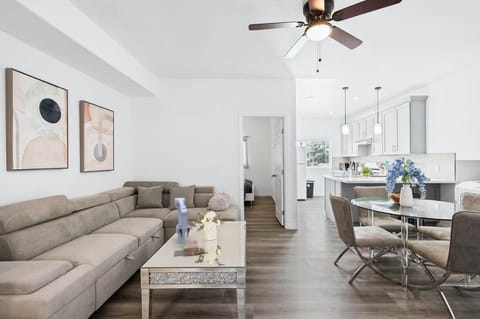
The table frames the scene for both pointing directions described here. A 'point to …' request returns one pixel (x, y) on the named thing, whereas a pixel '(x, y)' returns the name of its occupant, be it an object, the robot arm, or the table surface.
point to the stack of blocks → (190, 248)
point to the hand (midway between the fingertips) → (184, 237)
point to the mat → (180, 253)
